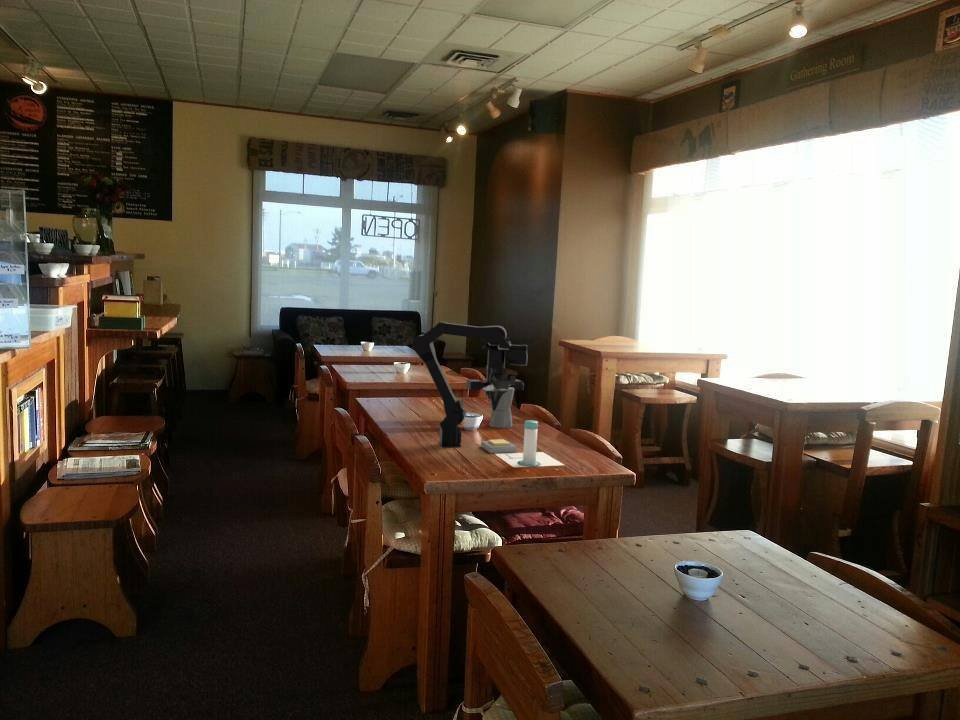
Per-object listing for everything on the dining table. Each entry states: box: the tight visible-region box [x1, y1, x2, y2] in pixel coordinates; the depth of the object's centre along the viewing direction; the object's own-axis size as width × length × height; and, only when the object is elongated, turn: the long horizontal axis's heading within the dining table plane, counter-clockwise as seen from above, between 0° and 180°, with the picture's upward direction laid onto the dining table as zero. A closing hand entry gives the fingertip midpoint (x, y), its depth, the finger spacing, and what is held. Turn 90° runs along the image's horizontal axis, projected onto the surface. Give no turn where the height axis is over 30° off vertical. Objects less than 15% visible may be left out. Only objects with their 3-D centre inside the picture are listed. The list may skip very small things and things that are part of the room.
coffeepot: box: [488, 387, 516, 429], centre depth 294 cm, size 15×9×18 cm, turn 147°
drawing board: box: [494, 451, 565, 468], centre depth 241 cm, size 18×18×1 cm
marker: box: [522, 419, 539, 465], centre depth 235 cm, size 4×4×13 cm
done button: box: [487, 438, 511, 446], centre depth 253 cm, size 5×5×2 cm
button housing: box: [480, 440, 517, 454], centre depth 253 cm, size 9×9×2 cm
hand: (493, 410), depth 255 cm, fingers closed
